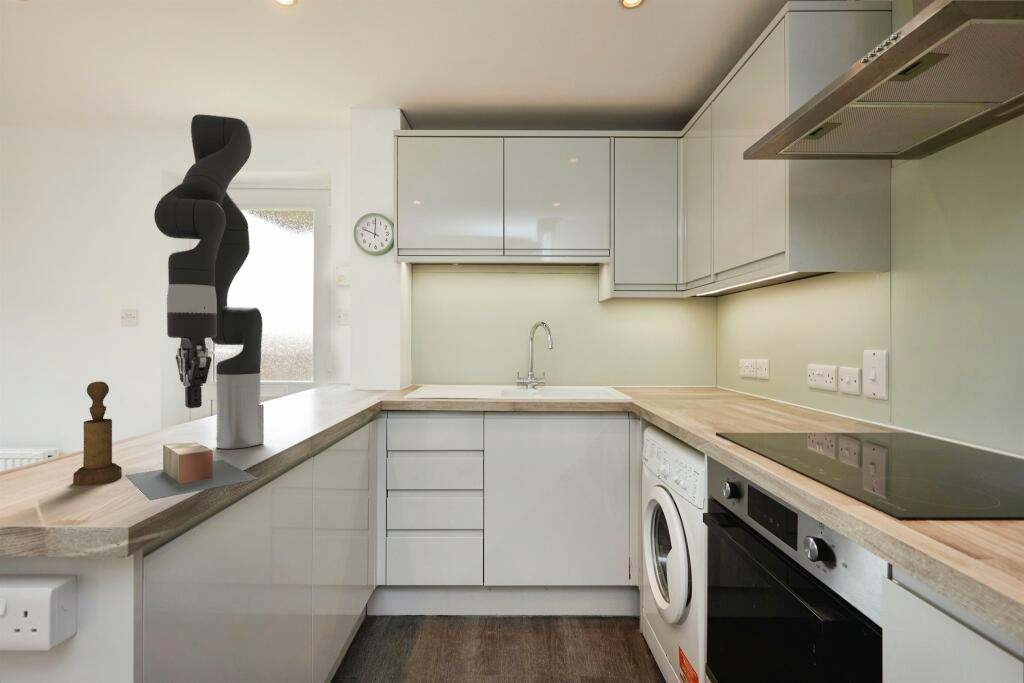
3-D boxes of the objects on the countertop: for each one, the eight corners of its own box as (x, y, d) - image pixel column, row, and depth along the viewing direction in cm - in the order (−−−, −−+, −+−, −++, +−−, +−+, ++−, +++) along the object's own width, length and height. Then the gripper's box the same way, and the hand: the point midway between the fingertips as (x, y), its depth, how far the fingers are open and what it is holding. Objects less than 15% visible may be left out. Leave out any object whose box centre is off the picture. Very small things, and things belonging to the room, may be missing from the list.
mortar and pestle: (93, 489, 83) (93, 383, 83) (63, 487, 85) (62, 382, 85) (131, 478, 90) (130, 380, 90) (102, 476, 91) (101, 379, 91)
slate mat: (222, 462, 102) (222, 459, 102) (258, 481, 88) (258, 478, 88) (125, 477, 90) (125, 475, 90) (150, 503, 77) (150, 499, 77)
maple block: (212, 477, 89) (193, 465, 97) (212, 450, 89) (193, 440, 97) (180, 483, 85) (163, 470, 93) (180, 454, 85) (163, 444, 93)
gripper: (227, 311, 87) (228, 409, 87) (205, 312, 96) (205, 401, 96) (177, 309, 81) (178, 414, 82) (158, 311, 90) (159, 405, 91)
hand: (193, 407), depth 89 cm, fingers closed
